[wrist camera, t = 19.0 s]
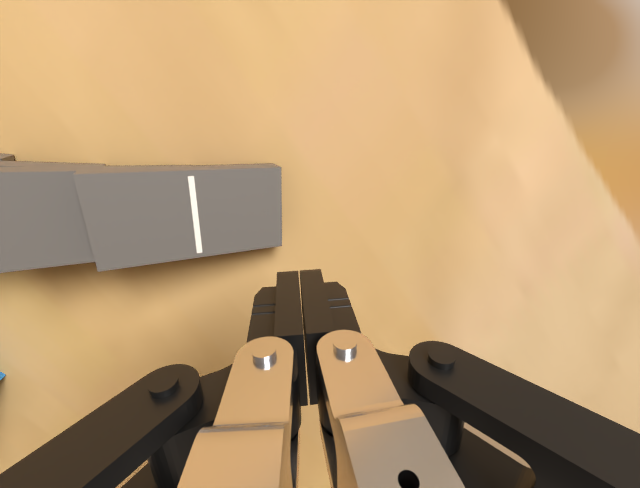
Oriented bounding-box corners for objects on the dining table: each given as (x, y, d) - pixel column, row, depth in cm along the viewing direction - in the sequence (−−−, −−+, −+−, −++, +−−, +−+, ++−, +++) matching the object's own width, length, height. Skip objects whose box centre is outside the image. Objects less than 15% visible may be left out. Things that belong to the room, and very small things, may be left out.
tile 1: (282, 246, 20) (97, 272, 16) (273, 237, 22) (102, 259, 18) (281, 167, 18) (72, 174, 14) (272, 163, 20) (79, 168, 16)
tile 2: (202, 249, 20) (-10, 274, 16) (199, 240, 21) (3, 260, 17) (195, 169, 18) (-49, 173, 14) (192, 164, 19) (-30, 166, 15)
